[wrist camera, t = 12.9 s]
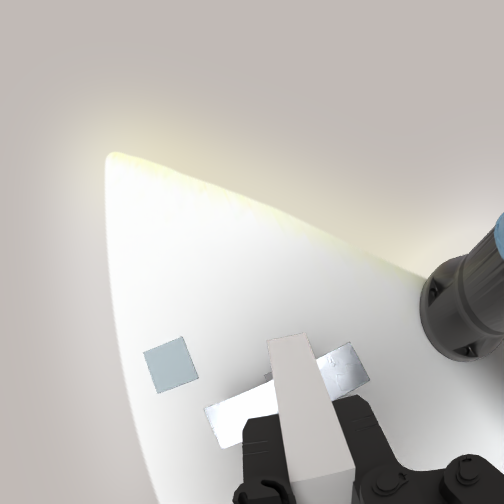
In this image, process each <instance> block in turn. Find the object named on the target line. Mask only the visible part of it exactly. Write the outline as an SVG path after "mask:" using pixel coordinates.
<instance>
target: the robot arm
mask: <svg viewBox="0 0 504 504" xmlns="http://www.w3.org/2000/svg"><path fill="white" fill-rule="evenodd" d="M420 315H421V320H422V324H423V327H424V330H425V333H426V335H427V337H428V338H429V340H430V342H431V343H432V344H433V346H434V347H435V348H436V349H437V350H438V351H439V352H440V353H442V354H443V355H444V356H446V357H448V358H450V359H452V360H455V361H460V362H469V361H474V360H477V359H479V358H482V357H484V356H486V355H488V354H489V353H491V352H492V351H493V350H495V349H496V348H497V346H498V345H499V344H500V343H501V342H502V340H503V339H504V213H503V214H502V215H501V216H500V217H499V219H498V220H497V222H496V225H495V226H494V228H493V229H492V230H491V231H490V232H489V233H488V234H487V235H486V236H485V237H484V238H483V239H482V240H481V241H480V242H479V243H478V244H477V245H476V246H475V247H474V248H473V249H472V250H471V252H470V253H469V254H466V255H463V256H459V257H456V258H453V259H450V260H448V261H446V262H444V263H443V264H441V265H440V266H439V267H438V268H437V269H436V270H435V271H434V272H433V273H432V274H431V275H430V277H429V278H428V279H427V281H426V283H425V285H424V287H423V290H422V294H421V299H420ZM267 344H268V350H269V356H270V363H271V369H272V375H273V381H274V387H275V393H276V399H277V406H278V412H279V413H278V414H272V415H266V416H260V417H254V418H248V420H247V422H246V424H245V426H244V428H243V430H242V444H243V446H242V448H243V480H244V483H242V484H241V485H240V486H239V487H238V488H237V490H236V491H235V492H234V496H233V500H232V501H233V503H234V504H504V474H503V473H501V472H500V471H499V470H498V469H497V468H495V467H494V466H493V465H492V464H491V463H489V462H488V461H487V460H486V459H484V458H482V457H481V456H479V455H473V454H467V455H462V456H459V457H457V458H456V459H454V460H452V461H451V463H450V464H449V465H448V466H447V467H446V468H445V469H438V470H431V471H413V470H409V469H407V468H405V467H403V466H402V465H401V464H400V463H399V462H398V461H397V459H396V458H395V456H394V454H393V452H392V450H391V448H390V446H389V443H388V441H387V439H386V437H385V435H384V433H383V431H382V429H381V427H380V426H379V423H378V421H377V419H376V417H375V416H374V413H373V411H372V409H371V407H370V405H369V403H368V402H367V401H365V400H364V399H363V398H361V397H360V396H358V395H354V396H350V397H346V398H342V399H338V400H334V401H331V399H330V396H329V394H328V391H327V388H326V386H325V383H324V380H323V378H322V375H321V372H320V370H319V367H318V364H317V362H316V359H315V356H314V354H313V351H312V349H311V346H310V343H309V341H308V338H307V335H306V333H301V334H297V335H292V336H287V337H282V338H277V339H271V340H267Z"/></svg>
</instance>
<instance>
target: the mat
mask: <svg viewBox="0 0 504 504" xmlns="http://www.w3.org/2000/svg"><path fill="white" fill-rule="evenodd" d="M143 353H144V356H145V359H146V362H147V365H148V368H149V371H150V374H151V377H152V380H153V382H154V385H155V388H156V391H157V393H161V392H164V391H166V390H169V389H172V388H175V387H177V386H180V385H182V384H185V383H188V382H190V381H193V380H195V379H198V375H197V373H196V370H195V368H194V365H193V363H192V360H191V358H190V355H189V353H188V350H187V347H186V345H185V342H184V340H183V337H180V338H178V339H175V340H173V341H171V342H168V343H166V344H163V345H161V346H158V347H156V348H153V349H151V350H148V351H146V352H143Z"/></svg>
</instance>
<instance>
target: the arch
mask: <svg viewBox="0 0 504 504" xmlns="http://www.w3.org/2000/svg"><path fill="white" fill-rule="evenodd" d="M316 362H317V364H318V367H319V370H320V372H321V375H322V378H323V380H324V383H325V386H326V388H327V391H328V394H329V396H330V399H331V401H334V400H335V399H337V398H339V397H341V396H343V395H345V394H347V393H349V392H350V391H352V390H354V389H356V388H358V387H359V386H361V385H363V384H365V383H366V382H368V381H370V379H369V377H368V375H367V373H366V371H365V369H364V367H363V366H362V364H361V362H360V360H359V358H358V356H357V354H356V352H355V350H354V349H353V347H352V345H351V343H350V342H348V343H346V344H345V345H343V346H341V347H339V348H337V349H335V350H333V351H331V352H329V353H328V354H326V355H324V356H322V357H320V358H318V359H316ZM204 411H205V413H206V415H207V418H208V420H209V422H210V424H211V427H212V429H213V431H214V433H215V435H216V438H217V440H218V442H219V444H220V446H221V448H222V449H224V448H227V447H229V446H232V445H235V444H238V443H240V442H242V430H243V428H244V426H245V424H246V422H247V420H248V418H254V417H260V416H266V415H272V414H278V413H279V412H278V406H277V399H276V393H275V387H274V381H273V380H272V381H269V382H267V383H265V384H263V385H260V386H258V387H256V388H254V389H251V390H249V391H246V392H244V393H242V394H239V395H237V396H234V397H232V398H230V399H227V400H225V401H222V402H220V403H217V404H214V405H212V406H209V407H207V408H204Z"/></svg>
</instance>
